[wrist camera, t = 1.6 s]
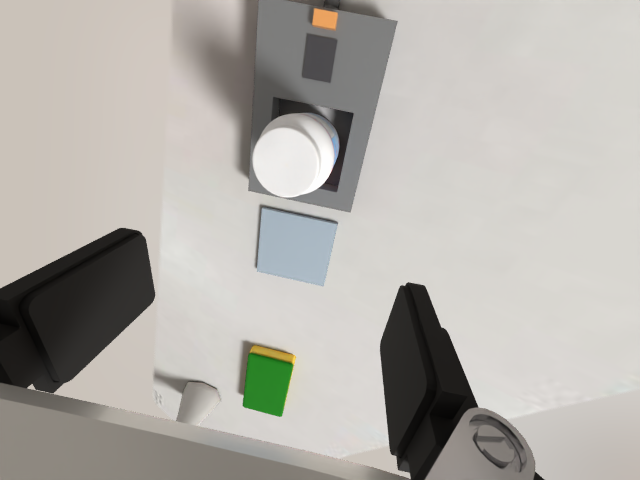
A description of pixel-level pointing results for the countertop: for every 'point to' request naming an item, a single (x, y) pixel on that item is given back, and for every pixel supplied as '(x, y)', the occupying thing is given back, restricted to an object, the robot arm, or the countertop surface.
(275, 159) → the pill bottle
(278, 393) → the dish sponge
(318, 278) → the slate mat
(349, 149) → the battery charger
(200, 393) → the flask
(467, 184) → the countertop surface
